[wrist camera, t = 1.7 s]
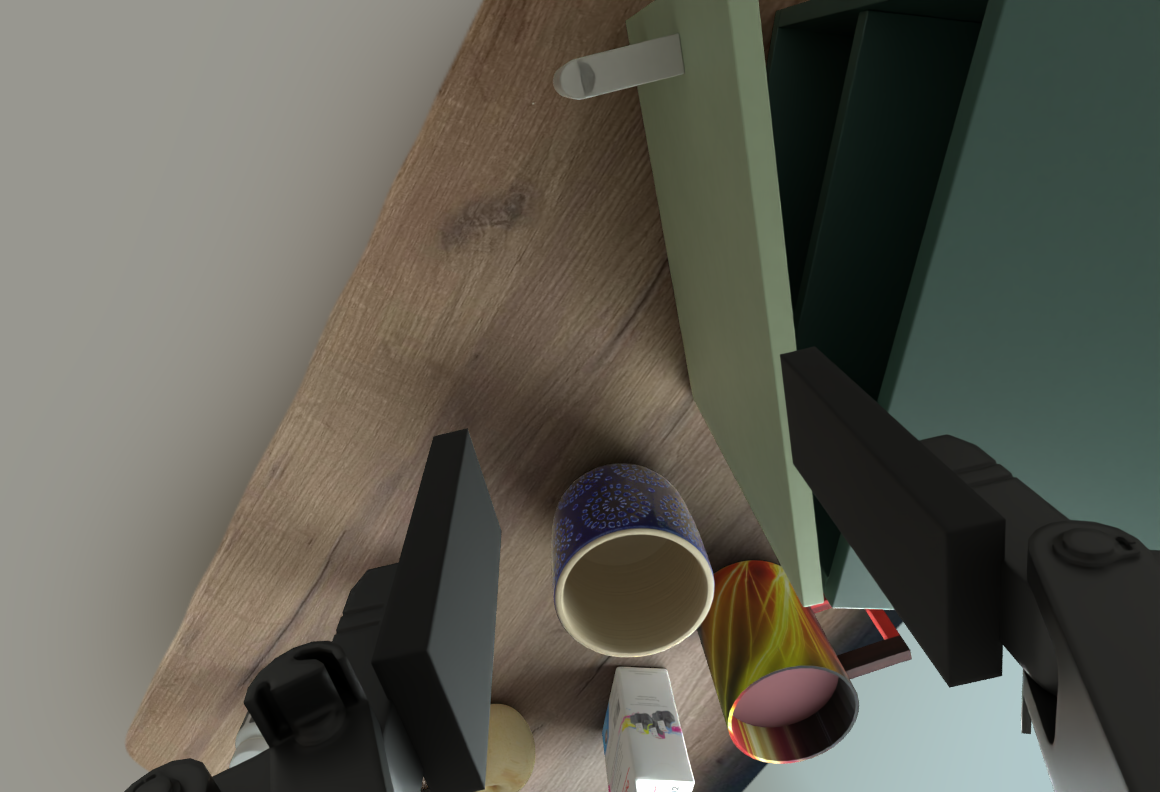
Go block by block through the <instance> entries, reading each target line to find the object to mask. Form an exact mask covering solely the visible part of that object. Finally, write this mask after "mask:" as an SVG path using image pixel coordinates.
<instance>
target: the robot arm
mask: <svg viewBox="0 0 1160 792" xmlns="http://www.w3.org/2000/svg"><path fill="white" fill-rule="evenodd" d="M780 360H781V369H782V377H783V385H784V394H785V402H786V410H787V419H788V427H789V435H790V444H791V452H792V460H793V465H794V466H795V468H796V469H797V470H798V472H799V473H800V475H801V476H802V478H803V479H804V480H805V482H806V483H807V485H808V486H809V488H810V489H811V490H812V492H813V493H814V495H815V496H816V498H817V499H818V500H819V502H820V503H821V505H822V506H823V508H824V509H825V510H826V512H827V513H828V515H829V516H830V518H831V519H832V520H833V522H834V523H835V525H836V526H837V528H838V529H839V530H840V532H841V533H842V535H843V536H844V538H845V539H846V540H847V542H848V543H849V545H850V546H851V548H852V549H853V550H854V552H855V553H856V555H857V556H858V558H859V559H860V560H861V562H862V563H863V565H864V566H865V568H866V569H867V570H868V572H869V573H870V575H871V576H872V578H873V579H874V580H875V582H876V583H877V585H878V586H879V588H880V589H881V590H882V592H883V593H884V595H885V596H886V598H887V599H888V600H889V602H890V603H891V605H892V606H893V608H894V609H895V610H896V612H897V613H898V615H899V616H900V618H901V619H902V620H903V622H904V623H905V625H906V626H907V628H908V629H909V630H910V632H911V633H912V635H913V636H914V638H915V639H916V640H917V642H918V643H919V645H920V646H921V648H922V649H923V650H924V652H925V653H926V655H927V656H928V658H929V659H930V660H931V662H932V663H933V665H934V666H935V668H936V669H937V670H938V672H939V673H940V675H941V676H942V678H943V679H944V680H945V682H946V683H947V685H948V686H949V687H954V686H958V685H963V684H968V683H972V682H977V681H981V680H986V679H990V678H995V677H999V676H1002V657H1003V655H1002V654H1003V645H1004V647H1005V648H1006V649H1007V650H1008V651H1009V652H1010V654H1011V655H1012V656H1013V657H1014V658H1015V659H1016V661H1017V662H1018V663H1019V664H1020V665H1021V666H1022V668H1023V684H1022V710H1021V731H1022V733H1026V734H1031V720H1032V723H1033V726H1034V730H1035V733H1036V736H1037V739H1038V742H1039V745H1040V749H1041V752H1042V754H1043V758H1044V761H1045V764H1046V767H1047V770H1048V774H1049V777H1050V780H1051V783H1052V786H1053V789H1054V792H1160V550H1149V549H1148V548H1147V547H1146V546H1145V545H1144V544H1143V543H1142V542H1141V541H1140V540H1139V539H1138V538H1136V537H1134V536H1132V535H1130V534H1128V533H1126V532H1124V531H1123V530H1121V529H1119V528H1116V527H1112V526H1109V525H1105V524H1101V523H1097V522H1092V521H1079V520H1070V519H1068V518H1067V517H1066V516H1065V515H1063V514H1062V513H1061V512H1060V511H1058V510H1057V509H1056V508H1055V507H1053V506H1052V505H1051V504H1050V503H1048V502H1047V501H1046V500H1045V499H1043V498H1042V497H1041V496H1040V495H1038V494H1037V493H1036V492H1035V491H1033V490H1032V489H1031V488H1030V487H1028V486H1027V485H1026V484H1024V483H1023V482H1022V481H1021V480H1019V479H1018V478H1017V477H1013V475H1012V473H1011V472H1009V471H1008V470H1007V469H1006V468H1004V467H1003V466H1002V465H1001V464H997V463H996V460H994V459H993V458H992V457H991V456H989V455H988V454H987V453H986V452H984V451H983V450H982V449H981V448H979V447H978V446H977V445H975V444H973V443H970V442H967V441H965V440H962V439H959V438H957V437H954V436H952V435H949V434H945V435H941V436H936V437H932V438H928V439H923V440H918V439H917V438H916V437H914V436H913V435H912V434H911V433H910V432H909V431H908V430H907V429H906V428H905V427H903V426H902V425H901V424H900V423H899V422H898V421H897V420H896V419H895V418H894V417H892V416H891V415H890V414H889V413H888V412H887V411H886V410H885V409H884V408H882V407H881V406H880V405H879V404H878V403H877V402H876V401H875V400H874V399H873V398H871V397H870V396H869V395H868V394H867V393H866V392H865V391H864V390H863V389H862V388H860V387H859V386H858V385H857V384H856V383H855V382H854V381H853V380H852V379H850V378H849V377H848V376H847V375H846V374H845V373H844V372H843V371H842V370H841V369H839V368H838V367H837V366H836V365H835V364H834V363H833V362H832V361H831V360H830V359H828V358H827V357H826V356H825V355H824V354H823V353H822V352H821V351H820V350H818V349H817V348H816V347H815V346H814V347H810V348H806V349H801V350H797V351H793V352H789V353H784V354H780ZM500 547H501V528H500V525H499V522H498V519H497V516H496V513H495V510H494V507H493V504H492V501H491V498H490V495H489V492H488V489H487V486H486V483H485V480H484V477H483V474H482V471H481V468H480V465H479V462H478V459H477V455H476V452H475V449H474V446H473V443H472V440H471V437H470V434H469V431H468V428H467V429H463V430H458V431H454V432H450V433H446V434H442V435H437V436H433V440H432V444H431V447H430V451H429V455H428V458H427V462H426V465H425V469H424V473H423V476H422V480H421V483H420V487H419V491H418V494H417V498H416V502H415V505H414V509H413V512H412V516H411V520H410V523H409V527H408V531H407V534H406V538H405V541H404V545H403V549H402V552H401V556H400V559H399V563H395V564H391V565H386V566H382V567H378V568H373V569H369V570H367V571H366V573H365V574H364V575H363V576H362V577H361V579H360V580H359V581H358V582H357V583H356V585H355V586H354V587H353V588H352V589H351V591H350V593H349V596H348V599H347V601H346V604H345V607H344V610H343V616H342V617H341V618H340V621H339V624H338V627H337V629H336V631H337V634H336V635H334V638H333V641H332V642H330V641H316V642H310V643H307V644H304V645H301V646H298V647H295V648H293V649H291V650H289V651H287V652H286V653H284V654H282V655H280V656H279V657H277V658H275V659H274V660H273V661H272V662H271V663H269V664H268V665H267V666H266V667H265V668H264V669H263V670H261V671H260V672H259V673H258V675H257V676H256V678H255V679H254V680H253V682H252V683H251V684H250V686H249V687H248V689H247V693H246V696H245V700H244V705H245V706H246V708H247V710H248V712H249V713H250V715H251V717H252V718H253V720H254V722H255V724H256V725H257V727H258V729H259V731H260V732H261V734H262V736H263V737H264V739H265V741H266V743H267V744H268V746H269V748H268V749H266V750H265V751H263V752H261V753H259V754H258V755H256V756H254V757H252V758H250V759H248V760H246V761H244V762H242V763H240V764H238V765H236V766H234V767H231V768H229V769H227V770H225V771H223V772H221V773H219V774H217V775H215V776H213V777H212V776H211V775H210V773H209V771H208V770H207V768H206V767H205V765H204V764H203V762H200V761H197V760H194V759H191V758H189V759H182V760H176V761H171V762H169V763H167V764H165V765H162V766H160V767H158V768H156V769H153V770H152V771H150V772H149V773H147V774H146V775H144V776H143V777H141V778H140V779H139V780H137V781H136V782H134V783H133V784H132V785H131V786H130V787H129V788H128V789H127V790H126V791H125V792H421V787H422V780H423V776H424V779H425V781H426V783H427V785H428V787H429V789H430V791H431V792H476V791H480V790H485V781H486V766H487V750H488V734H489V719H490V703H491V687H492V672H493V656H494V640H495V625H496V609H497V594H498V578H499V562H500Z"/></svg>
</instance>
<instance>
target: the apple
mask: <svg viewBox="0 0 1160 792" xmlns="http://www.w3.org/2000/svg"><path fill="white" fill-rule="evenodd" d="M534 763H535V744H534V738H533V735H532V732H531V730H530V728H529V726H528V724H527V723H526V721H525V720H524V718H523V717H522V716H521V714H520V713H519V712H518V711H516V710H515V709H514V708H512V707H510V706H507V705H503V704H490V719H489V734H488V750H487V766H486V781H485V790H480V791H476V792H518V791H519V790H520V789H521V788H522V787H523V786H524V785H525V784H526V782H527V781H528V779H529V778H530V776H531V773H532V771H533V768H534Z"/></svg>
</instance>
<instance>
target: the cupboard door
mask: <svg viewBox="0 0 1160 792" xmlns="http://www.w3.org/2000/svg"><path fill="white" fill-rule="evenodd" d="M626 27H627V33H628V38H629V44H630V45H628V46H624V47H620V48H616V49H612V50H609V51H605V52H601V53H597V54H593V55H589V56H585V57H581V58H577V59H573V60H571V61H569V62H568V63H566V64H565V65H563V66H562V67H560V68H559V69H558V70H557V71H556V72H555V74H554V77H553V85H554V88H555V90H556V91H557V93H558V94H560V95H561V96H564V97H568V98H572V99H576V100H581V99H586V98H590V97H594V96H598V95H602V94H606V93H610V92H614V91H618V90H622V89H626V88H630V87H634V86H637V88H638V94H639V100H640V105H641V111H642V116H643V122H644V128H645V133H646V139H647V144H648V150H649V156H650V161H651V167H652V172H653V178H654V183H655V189H656V195H657V200H658V206H659V211H660V217H661V223H662V228H663V234H664V239H665V245H666V251H667V256H668V262H669V267H670V273H671V279H672V284H673V290H674V295H675V301H676V306H677V312H678V318H679V323H680V329H681V334H682V340H683V346H684V351H685V357H686V362H687V368H688V374H689V379H690V385H691V390H692V396H693V399H694V401H695V403H696V405H697V407H698V408H699V410H700V412H701V414H702V416H703V418H704V420H705V422H706V424H707V426H708V427H709V429H710V431H711V433H712V435H713V437H714V439H715V441H716V443H717V445H718V446H719V448H720V450H721V452H722V454H723V456H724V458H725V460H726V462H727V463H728V465H729V467H730V469H731V471H732V473H733V475H734V477H735V479H736V481H737V482H738V484H739V486H740V488H741V490H742V492H743V494H744V496H745V498H746V500H747V501H748V503H749V505H750V507H751V509H752V511H753V513H754V515H755V517H756V519H757V520H758V522H759V524H760V526H761V528H762V530H763V532H764V534H765V536H766V538H767V539H768V541H769V543H770V545H771V547H772V549H773V551H774V553H775V555H776V557H777V558H778V560H779V562H780V564H781V566H782V568H783V570H784V572H785V574H786V576H787V577H788V579H789V581H790V583H791V585H792V587H793V589H794V591H795V593H796V595H797V596H798V598H799V600H800V602H801V604H802V606H803V607H808V606H812V605H816V604H821V603H824V596H823V587H822V578H821V569H820V560H819V550H818V541H817V532H816V523H815V514H814V505H813V495H812V490H811V489H810V488H809V486H808V485H807V483H806V482H805V480H804V479H803V478H802V476H801V475H800V473H799V472H798V470H797V469H796V468H795V466H794V465H793V460H792V452H791V444H790V435H789V427H788V419H787V410H786V402H785V394H784V385H783V377H782V369H781V360H780V354H784V353H789V352H793V351H797V349H796V340H795V330H794V321H793V312H792V303H791V294H790V285H789V276H788V266H787V257H786V248H785V239H784V230H783V221H782V211H781V202H780V193H779V184H778V175H777V166H776V156H775V147H774V138H773V129H772V120H771V111H770V101H769V92H768V83H767V74H766V65H765V56H764V46H763V37H762V28H761V19H760V10H759V1H758V0H655V1H653V2H652V3H650V4H649V5H648V6H646V7H645V8H643V9H642V10H640V11H639V12H638V13H636V14H635V15H633V16H632V17H630V18H629V19H628V20H626Z"/></svg>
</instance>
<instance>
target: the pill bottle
mask: <svg viewBox="0 0 1160 792" xmlns="http://www.w3.org/2000/svg"><path fill="white" fill-rule="evenodd" d="M235 746H236V750H235V753H234V755H233V757H232V760H231V762H230V768H231V767H234V766H236V765H238V764H240V763H242V762H244V761H246V760H248V759H250V758H252V757H254V756H256V755H258V754H259V753H261V752H263V751H265V750H266V749H268V748H269V746H268V744H267V743H266V741H265V739H264V737H263V736H262V734H261V732H260V731H259V729H258V727H257V725H256V724H255V722H254V720H253V718H252V717H251V715H250V713H249V712H247V714H246V716H245V718H244V721H243V723H242V725H241V727H240V729H239V732H238V734H237V737H236V742H235Z"/></svg>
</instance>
